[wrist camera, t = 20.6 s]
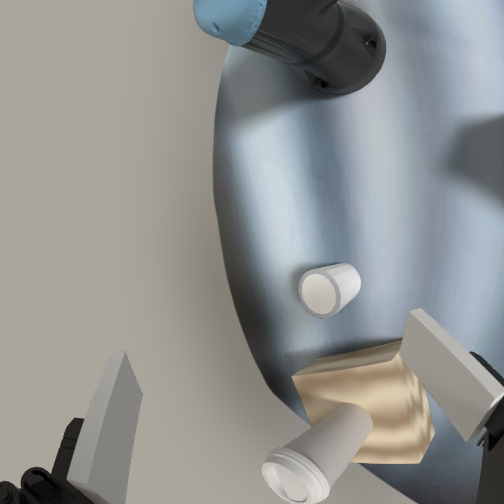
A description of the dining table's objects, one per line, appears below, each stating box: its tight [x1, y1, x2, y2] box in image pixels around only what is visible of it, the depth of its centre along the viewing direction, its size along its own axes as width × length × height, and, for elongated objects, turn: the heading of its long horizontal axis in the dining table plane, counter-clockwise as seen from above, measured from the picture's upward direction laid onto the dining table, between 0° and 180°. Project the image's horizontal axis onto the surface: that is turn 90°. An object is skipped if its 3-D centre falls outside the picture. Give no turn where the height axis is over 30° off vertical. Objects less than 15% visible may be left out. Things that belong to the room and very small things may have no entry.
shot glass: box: [298, 263, 361, 319], centre depth 40 cm, size 7×7×7 cm
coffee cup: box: [262, 404, 373, 504], centre depth 31 cm, size 10×10×15 cm
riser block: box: [291, 340, 435, 464], centre depth 38 cm, size 18×18×7 cm
